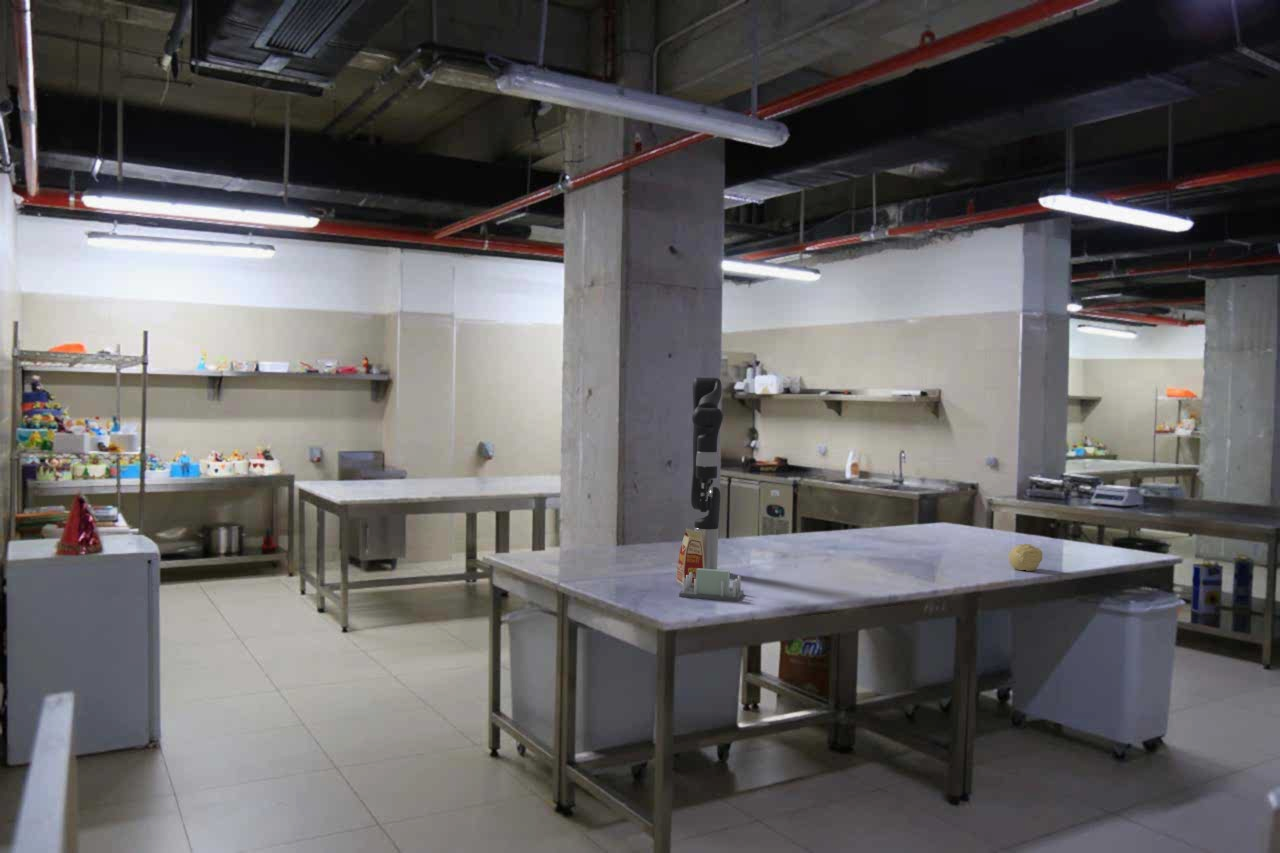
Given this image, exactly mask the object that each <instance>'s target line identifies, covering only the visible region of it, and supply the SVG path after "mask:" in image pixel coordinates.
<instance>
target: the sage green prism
mask: <svg viewBox="0 0 1280 853" xmlns="http://www.w3.org/2000/svg"><path fill="white" fill-rule="evenodd" d="M730 572H731V571H730V570H729V569H718V568H717V569H703V568H697V569H696V579H697V593H698V594H711V595H721V581H724V596H728V595H729V590H730V577H731V576H730V574H731V573H730Z"/></svg>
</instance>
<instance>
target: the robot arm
mask: <svg viewBox="0 0 1280 853" xmlns="http://www.w3.org/2000/svg"><path fill="white" fill-rule="evenodd" d="M722 390H723V388H722V381H721V379H720V378H719V377H694V379H693V382H692V406H693V408H692V410H693V413H692V418H691V420H692V423H693V427H692V476H691V477H692V479H691V480H692V481H691V491H690V503H691V507H692V508H693V509H694V510H698V511H699V512H701V513H706V512H707V511H708V514H707V515H705V516H704V517H701V518H698V519H695V521H694V529H693V531H700V532H703V534H702V541H703V550H704V566H705V569H717V570H718V561H719V560H718V557H719V556H718V553H719V552H718V550H719V523H720V508H721V492H720V491H721V490H720V488H719V487H717V486H714V479H717V478H718V438H719V432H720V429H721V426H722V423H723V419H724V416H723V412H722V410H721V409H720V408H718V407H719V406H718V405H719V403H720V401H721V397H722Z"/></svg>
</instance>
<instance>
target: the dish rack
mask: <svg viewBox="0 0 1280 853" xmlns="http://www.w3.org/2000/svg"><path fill="white" fill-rule="evenodd" d="M741 577H742V576H741V575H737V578H735V580H734V581H733V582H732V589H729V595H728V596H724V581H721V595H711V594H698V593H697V579H694V585H692V572H690V573H689V575H686V578H683V585H682V590H681V591H680V592H679V593H678V597H679V598H680V597H681V598H692V599H705V600H715V601H716V600H717V601H728V602H729V601H730V602H739V601H740V599H741V598H742V597H743V596H744V590H742V589H741V586H742V585H741V582H742V581H741V579H742V578H741Z"/></svg>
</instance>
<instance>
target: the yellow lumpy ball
mask: <svg viewBox="0 0 1280 853" xmlns="http://www.w3.org/2000/svg"><path fill="white" fill-rule="evenodd" d="M1009 552H1010V553H1009V555H1008V560H1009V561H1008V562H1009V564H1010V567H1012V568H1014V569H1016V570H1017V571H1021V570H1026V571H1025V572H1034V571H1036V570H1037V569H1038V567H1039V566H1040V564H1041V562H1042V561H1043V555H1044V553H1043V551H1042V550H1041V548H1038V547H1036V546H1033V545H1032V544H1026V543H1024V544H1019V545H1016V546H1014V547H1013V548H1012V549H1011V551H1009Z"/></svg>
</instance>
